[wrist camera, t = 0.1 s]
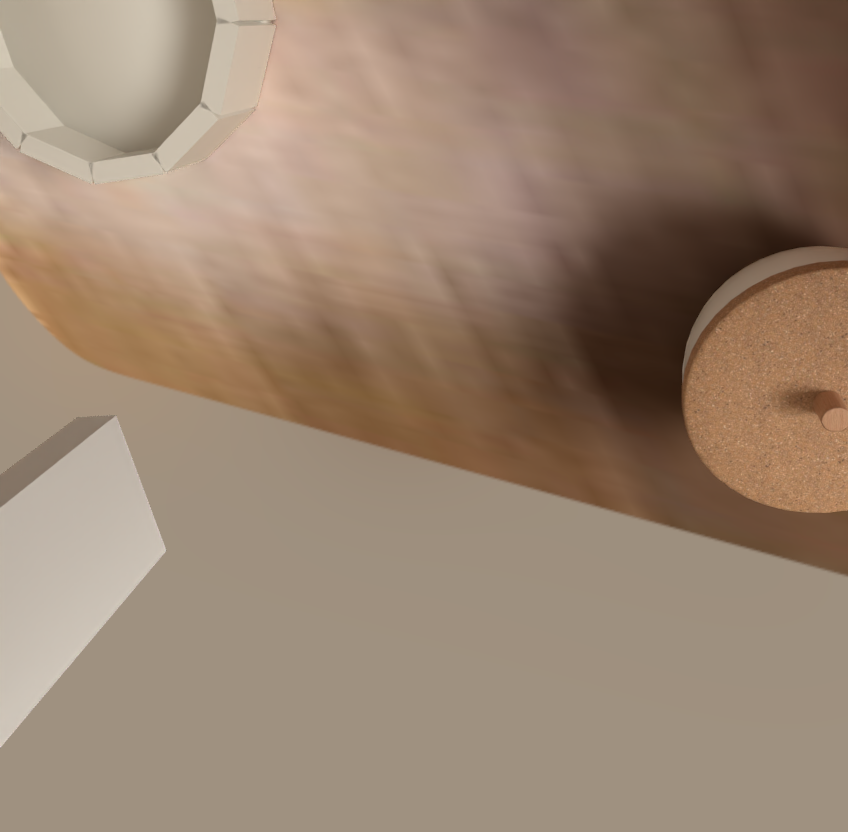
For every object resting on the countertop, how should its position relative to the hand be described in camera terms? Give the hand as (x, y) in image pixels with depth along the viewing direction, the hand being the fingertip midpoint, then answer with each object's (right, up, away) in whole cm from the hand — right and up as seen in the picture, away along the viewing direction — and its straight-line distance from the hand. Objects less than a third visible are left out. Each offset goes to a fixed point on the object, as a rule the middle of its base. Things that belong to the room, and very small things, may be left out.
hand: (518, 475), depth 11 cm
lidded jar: (+16, +5, +26) cm, 31 cm away
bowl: (-16, +21, +26) cm, 37 cm away
